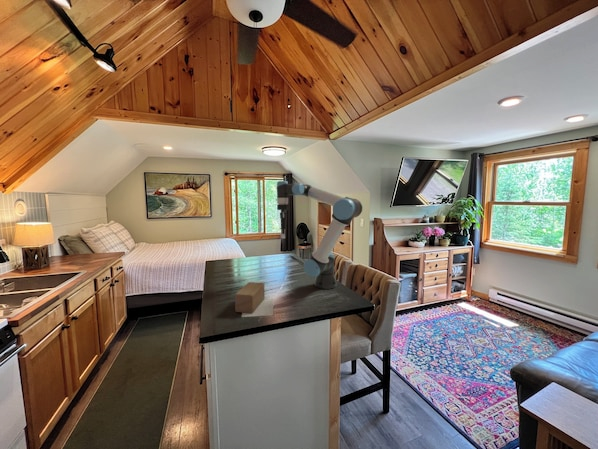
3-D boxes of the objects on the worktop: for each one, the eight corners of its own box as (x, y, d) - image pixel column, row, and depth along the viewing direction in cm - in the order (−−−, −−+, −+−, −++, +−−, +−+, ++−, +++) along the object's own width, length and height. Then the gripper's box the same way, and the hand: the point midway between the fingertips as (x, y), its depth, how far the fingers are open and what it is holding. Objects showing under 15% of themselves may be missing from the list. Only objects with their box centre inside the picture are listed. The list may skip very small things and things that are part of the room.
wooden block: (265, 298, 147) (252, 314, 128) (249, 297, 149) (234, 312, 130) (264, 282, 147) (252, 295, 127) (248, 281, 148) (234, 293, 129)
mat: (273, 299, 148) (273, 298, 148) (273, 315, 127) (273, 314, 127) (245, 300, 146) (245, 299, 146) (241, 317, 125) (241, 316, 125)
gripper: (276, 204, 176) (277, 237, 179) (277, 204, 163) (278, 239, 166) (287, 204, 177) (287, 236, 180) (289, 204, 165) (289, 239, 167)
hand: (283, 238), depth 173 cm, fingers closed
